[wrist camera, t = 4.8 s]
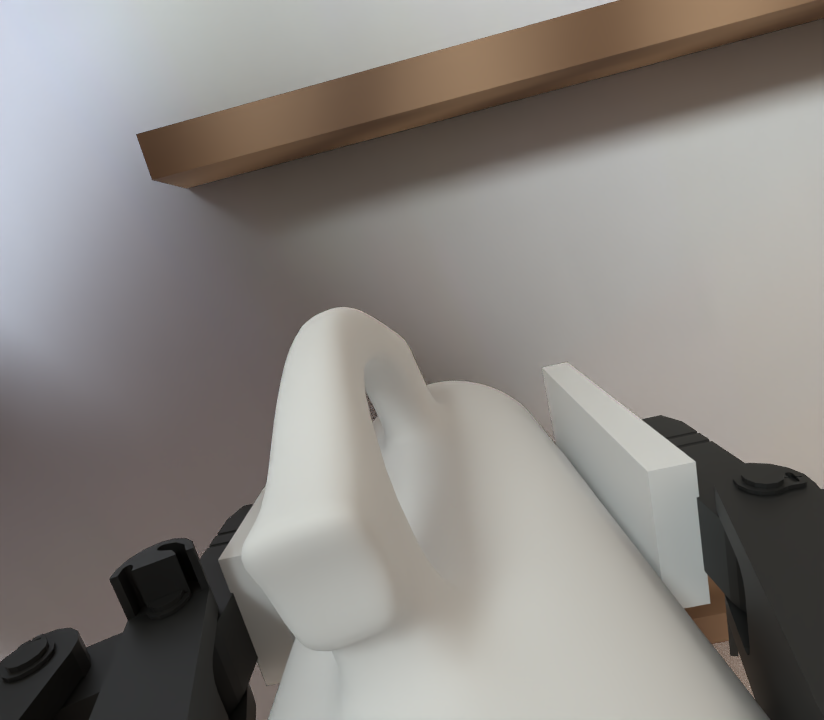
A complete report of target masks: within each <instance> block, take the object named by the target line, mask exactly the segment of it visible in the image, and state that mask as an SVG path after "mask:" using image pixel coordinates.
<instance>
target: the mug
mask: <svg viewBox="0 0 824 720" xmlns="http://www.w3.org/2000/svg"><path fill="white" fill-rule="evenodd" d="M365 391H366V392H365ZM366 393H367V395H368V397H369V399H370V400H371V402H372V404H373V406H374V408H375V411H376V413H377V415H378V416H377V417H376V418H375V420H374V421H373V422H372V419H371V415H370V411H369V407H368V402H367V398H366ZM241 560H242V562H243V565H244V567H245V569H246V571H247V572H248V573H249V574H250V576H251V577H252V578H253V579H254V580H255V582H256V583H257V584H258V585H259V586H260V587H261V589H262V590H263V591H264V593H265V594H266V595H267V597H268V598H269V600H270V601H271V603H272V604H273V606H274V607H275V609H276V610H277V612H278V613H279V615H280V616H281V618H282V619H283V621H284V622H285V624H286V625H287V627H288V628H289V629H290V631H291V632H292V633H293V634H294V636H295V640H294V643H293V646H292V649H291V652H290V655H289V658H288V661H287V664H286V667H285V670H284V673H283V676H282V679H281V682H280V685H279V688H278V691H277V694H276V697H275V700H274V703H273V706H272V709H271V712H270V715H269V717H268V720H770V718H769V717H768V716H767V715H766V713H765V712H764V711H763V709H762V708H761V707H760V706H759V704H758V703H757V702H756V700H755V699H754V698H753V697H752V695H751V694H750V693H749V691H748V690H747V689H746V688H745V686H744V685H743V684H742V682H741V681H740V680H739V679H738V677H737V676H736V675H735V673H734V672H733V671H732V670H731V668H730V667H729V666H728V664H727V663H726V662H725V661H724V659H723V658H722V657H721V655H720V654H719V653H718V652H717V650H716V649H715V648H714V647H713V645H712V644H711V643H710V641H709V640H708V639H707V638H706V636H705V635H704V634H703V632H702V631H701V630H700V629H699V627H698V626H697V625H696V623H695V622H694V621H693V620H692V618H691V617H690V616H689V615H688V613H687V612H686V611H685V609H684V608H683V607H682V606H681V604H680V603H679V602H678V600H677V599H676V598H675V597H674V595H673V594H672V593H671V591H670V590H669V589H668V588H667V586H666V585H665V584H664V583H663V581H662V580H661V579H660V577H659V576H658V575H657V574H656V572H655V571H654V570H653V568H652V567H651V566H650V565H649V563H648V562H647V561H646V559H645V558H644V557H643V556H642V554H641V553H640V552H639V550H638V549H637V548H636V547H635V545H634V544H633V543H632V542H631V540H630V539H629V538H628V536H627V535H626V534H625V533H624V531H623V530H622V529H621V527H620V526H619V525H618V524H617V522H616V521H615V520H614V518H613V517H612V516H611V515H610V513H609V512H608V511H607V509H606V508H605V507H604V506H603V504H602V503H601V502H600V500H599V499H598V498H597V496H596V495H595V494H594V493H593V491H592V490H591V489H590V487H589V486H588V485H587V483H586V482H585V481H584V480H583V478H582V477H581V476H580V474H579V473H578V472H577V470H576V469H575V468H574V466H573V465H572V464H571V462H570V461H569V460H568V459H567V457H566V456H565V455H564V454H563V452H562V451H561V450H560V449H559V448H558V447H557V445H556V444H555V443H554V442H553V441H552V440H551V438H550V437H549V436H548V435H547V433H546V432H545V431H544V430H543V428H542V427H541V426H540V424H539V423H538V422H537V421H536V419H535V418H534V417H533V416H532V415H531V413H530V412H529V411H528V410H527V409H526V408H525V407H524V406H523V405H521V404H520V403H519V402H518V401H516V400H515V399H514V398H512V397H511V396H509V395H507V394H505V393H504V392H502V391H500V390H497V389H495V388H492V387H490V386H487V385H483V384H479V383H475V382H468V381H443V382H436V383H431V384H428V385H426V383H425V381H424V379H423V377H422V375H421V372H420V370H419V368H418V365H417V363H416V361H415V359H414V356H413V354H412V352H411V350H410V348H409V346H408V344H407V343H406V341H405V340H404V339H403V338H402V337H401V336H400V335H399V334H398V333H396V332H395V331H393V330H392V329H390V328H389V327H387V326H386V325H384V324H383V323H381V322H380V321H378V320H377V319H375V318H373V317H372V316H370V315H368V314H366V313H365V312H363V311H360V310H358V309H354V308H348V307H338V308H332V309H329V310H327V311H324V312H321V313H319V314H317V315H315V316H314V317H312V318H311V319H310V320H308V321H307V322H306V323H305V324H304V325H303V326H302V327H301V329H300V330H299V332H298V334H297V336H296V337H295V339H294V341H293V343H292V345H291V348H290V350H289V353H288V356H287V359H286V362H285V366H284V370H283V374H282V378H281V383H280V388H279V393H278V399H277V405H276V412H275V418H274V426H273V434H272V443H271V452H270V460H269V469H268V475H267V482H266V489H265V493H264V497H263V502H262V506H261V510H260V512H259V514H258V517H257V519H256V521H255V523H254V525H253V527H252V529H251V531H250V533H249V534H248V536H247V538H246V540H245V542H244V544H243V547H242V556H241Z"/></svg>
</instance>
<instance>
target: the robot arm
mask: <svg viewBox="0 0 824 720" xmlns="http://www.w3.org/2000/svg"><path fill="white" fill-rule="evenodd" d="M542 372H543V378H544V383H545V389H546V394H547V400H548V405H549V411H550V417H551V422H552V428H553V433H554V439H555V444H556V445H557V447H558V448H559V449H560V450H561V451H562V452H563V454H564V455H565V456H566V457H567V459H568V460H569V461H570V462H571V464H572V465H573V466H574V468H575V469H576V470H577V472H578V473H579V474H580V476H581V477H582V478H583V480H584V481H585V482H586V483H587V485H588V486H589V487H590V489H591V490H592V491H593V493H594V494H595V495H596V496H597V498H598V499H599V500H600V502H601V503H602V504H603V506H604V507H605V508H606V509H607V511H608V512H609V513H610V515H611V516H612V517H613V518H614V520H615V521H616V522H617V524H618V525H619V526H620V527H621V529H622V530H623V531H624V533H625V534H626V535H627V536H628V538H629V539H630V540H631V542H632V543H633V544H634V545H635V547H636V548H637V549H638V550H639V552H640V553H641V554H642V556H643V557H644V558H645V559H646V561H647V562H648V563H649V565H650V566H651V567H652V568H653V570H654V571H655V572H656V574H657V575H658V576H659V577H660V579H661V580H662V581H663V583H664V584H665V585H666V586H667V588H668V589H669V590H670V591H671V593H672V594H673V595H674V597H675V598H676V599H677V600H678V602H679V603H680V604H681V606H682V607H683V608H689V607H695V606H700V605H705V604H710V595H709V585H708V576H709V577H710V578H711V579H712V580H713V581H714V582H715V584H716V585H717V586H718V587H719V588H720V589H721V590H722V592H723V593H724V594H725V604H726V615H727V625H728V635H729V646H730V656H738V651H739V654H740V657H741V660H742V663H743V666H744V669H745V671H746V674H747V677H748V680H749V683H750V686H751V689H752V691H753V694H754V697H755V700H756V702H757V703H758V704H759V706H760V707H761V708H762V709H763V711H764V712H765V713H766V715H767V716H768V717H769V718H770V720H824V489H820V488H819V487H818V486H817V484H816V483H815V482H814V481H812V480H811V479H810V478H808V477H807V476H806V475H804V474H803V473H800V472H798V471H795V470H792V469H790V468H787V467H782V466H777V465H772V464H761V463H746V464H745V463H744V462H742V461H741V460H739V459H738V458H736V457H735V456H733V455H732V454H730V453H729V452H727V451H726V450H724V449H723V448H721V447H720V446H718V445H717V444H715V443H714V442H712V441H711V442H710V441H709V439H708V438H706V437H705V436H703V435H702V434H700V433H697V431H696V430H694V429H693V428H691V427H690V426H688V425H687V424H685V423H684V422H682V421H679V420H675V419H672V418H668V417H665V416H662V415H660V416H655V417H650V418H646V419H640V418H639V417H637V416H636V415H635V414H634V413H632V412H631V411H630V410H628V409H627V408H626V407H625V406H623V405H622V404H621V403H619V402H618V401H617V400H616V399H614V398H613V397H612V396H610V395H609V394H608V393H607V392H605V391H604V390H603V389H601V388H600V387H599V386H598V385H596V384H595V383H594V382H592V381H591V380H590V379H588V378H587V377H586V376H585V375H583V374H582V373H581V372H579V371H578V370H577V369H576V368H574V367H573V366H572V365H570V364H569V363H568V362H564V363H560V364H556V365H551V366H547V367H542ZM265 489H266V485H265V487H264V488H263V490H262V492H261V493H260V495H259V496H258V498H257V499H256V501H255V503H254V504H251V505H246V506H243V507H242V508H241V509H239V510H238V511H237V512H236V513H235V514H234V515H232V516H231V517H230V518H229V519H228V520H227V521H226V522H225V524H224V525H223V527H222V528H221V530H220V531H219V532H218V536H216V537H215V538H214V540H213V541H212V543H211V544H210V548H207V550H206V551H205V553H204V554H203V555H202V557H201V558H200V560H199V557H198V554H197V552H196V549H195V547H194V544H193V542H192V541H191V540H189V539H186V538H177V539H171V540H168V541H164V542H160V543H158V544H156V545H154V546H151V547H149V548H147V549H145V550H143V551H141V552H140V553H138V554H136V555H135V556H133V557H132V558H130V559H129V560H127V561H126V562H125V563H124V564H123V565H121V566H120V567H119V568H118V569H117V570H116V571H115V572H114V574H113V575H112V576H111V578H110V582H111V584H112V586H113V588H114V590H115V593H116V595H117V597H118V599H119V602H120V604H121V606H122V608H123V610H124V613H125V615H126V617H127V619H128V622H127V624H126V627H125V629H124V632H123V633H120V634H118V635H115V636H113V637H111V638H108V639H106V640H103V641H101V642H98V643H96V644H94V645H91V646H89V647H85V645H84V643H83V641H82V639H81V637H80V634H79V632H78V631H77V630H75V629H72V628H64V629H57V630H55V631H52V632H49V633H46V634H42V635H39V636H37V637H35V638H33V640H32V641H31V640H29V641H28V642H26V643H24V644H22V645H21V646H20V647H19V648H18V649H17V650H16V651H14V652H13V653H12V654H10V655H9V656H7V657H6V658H5V659H4V660H2V661H1V662H0V720H256V704H255V700H254V696H253V693H252V691H251V688H250V686H249V680H250V678H251V675H252V673H253V670H254V667H255V665H256V662H257V663H258V665H259V668H260V670H261V673H262V676H263V678H264V681H265V683H266V686H270V685H275V684H280V682H281V679H282V676H283V673H284V670H285V667H286V664H287V661H288V658H289V655H290V652H291V649H292V646H293V643H294V640H295V636H294V634H293V633H292V632H291V631H290V629H289V628H288V627H287V625H286V624H285V622H284V621H283V619H282V618H281V616H280V615H279V613H278V612H277V610H276V609H275V607H274V606H273V604H272V603H271V601H270V600H269V598H268V597H267V595H266V594H265V593H264V591H263V590H262V589H261V587H260V586H259V585H258V584H257V583H256V582H255V580H254V579H253V578H252V577H251V576H250V574H249V573H248V572H247V571H246V569H245V567H244V565H243V562H242V560H241V556H242V547H243V544H244V542H245V540H246V538H247V536H248V534H249V533H250V531H251V529H252V527H253V525H254V523H255V521H256V519H257V517H258V514H259V512H260V510H261V506H262V502H263V497H264V493H265ZM707 575H708V576H707Z"/></svg>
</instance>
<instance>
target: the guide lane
mask: <svg viewBox="0 0 824 720" xmlns="http://www.w3.org/2000/svg"><path fill="white" fill-rule="evenodd" d="M822 18H824V0H618V1H615V2H611V3H607V4H604V5H600V6H597V7H593V8H589V9H586V10H582V11H579V12H575V13H571V14H568V15H564V16H561V17H557V18H553V19H550V20H546V21H543V22H539V23H535V24H532V25H528V26H525V27H521V28H517V29H514V30H510V31H507V32H503V33H499V34H496V35H492V36H489V37H485V38H481V39H478V40H474V41H471V42H467V43H463V44H460V45H456V46H453V47H449V48H445V49H442V50H438V51H435V52H431V53H427V54H424V55H420V56H417V57H413V58H409V59H406V60H402V61H399V62H395V63H391V64H388V65H384V66H381V67H377V68H373V69H370V70H366V71H363V72H359V73H355V74H352V75H348V76H345V77H341V78H337V79H334V80H330V81H327V82H323V83H319V84H316V85H312V86H309V87H305V88H301V89H298V90H294V91H291V92H287V93H284V94H280V95H276V96H273V97H269V98H266V99H262V100H258V101H255V102H251V103H248V104H244V105H240V106H237V107H233V108H230V109H226V110H222V111H219V112H215V113H212V114H208V115H204V116H201V117H197V118H194V119H190V120H186V121H183V122H179V123H176V124H172V125H168V126H165V127H161V128H158V129H154V130H150V131H147V132H143V133H140V134H136V135H137V138H138V141H139V144H140V147H141V150H142V152H143V155H144V158H145V161H146V164H147V167H148V169H149V172H150V175H151V178H152V180H154V181H158V182H162V183H166V184H171V185H175V186H179V187H183V188H190V187H194V186H198V185H202V184H205V183H209V182H213V181H217V180H220V179H224V178H228V177H232V176H235V175H239V174H243V173H246V172H250V171H254V170H258V169H261V168H265V167H269V166H273V165H276V164H280V163H284V162H288V161H291V160H295V159H299V158H303V157H306V156H310V155H314V154H317V153H321V152H325V151H329V150H332V149H336V148H340V147H344V146H347V145H351V144H355V143H359V142H362V141H366V140H370V139H374V138H377V137H381V136H385V135H388V134H392V133H396V132H400V131H403V130H407V129H411V128H415V127H418V126H422V125H426V124H430V123H433V122H437V121H441V120H445V119H448V118H452V117H456V116H459V115H463V114H467V113H471V112H474V111H478V110H482V109H486V108H489V107H493V106H497V105H501V104H504V103H508V102H512V101H516V100H519V99H523V98H527V97H530V96H534V95H538V94H542V93H545V92H549V91H553V90H557V89H560V88H564V87H568V86H572V85H575V84H579V83H583V82H587V81H590V80H594V79H598V78H601V77H605V76H609V75H613V74H616V73H620V72H624V71H628V70H631V69H635V68H639V67H643V66H646V65H650V64H654V63H658V62H661V61H665V60H669V59H672V58H676V57H680V56H684V55H687V54H691V53H695V52H699V51H702V50H706V49H710V48H714V47H717V46H721V45H725V44H729V43H732V42H736V41H740V40H743V39H747V38H751V37H755V36H758V35H762V34H766V33H770V32H773V31H777V30H781V29H785V28H788V27H792V26H796V25H800V24H803V23H807V22H811V21H814V20H818V19H822ZM707 576H708V575H707ZM708 585H709V595H710V604H705V605H700V606H695V607H689V608H684V609H685V611H686V612H687V613H688V615H689V616H690V617H691V618H692V620H693V621H694V622H695V623H696V625H697V626H698V627H699V629H700V630H701V631H702V632H703V634H704V635H705V636H706V638H707V639H708V640H709V641H710V643H711V644H714V643H719V642H725V641H729V635H728V625H727V615H726V604H725V594H724V593H723V592H722V590H721V589H720V588H719V587H718V586H717V585H716V584H715V582H714V581H713V580H712V579H711V578H710V577H709V576H708Z"/></svg>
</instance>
